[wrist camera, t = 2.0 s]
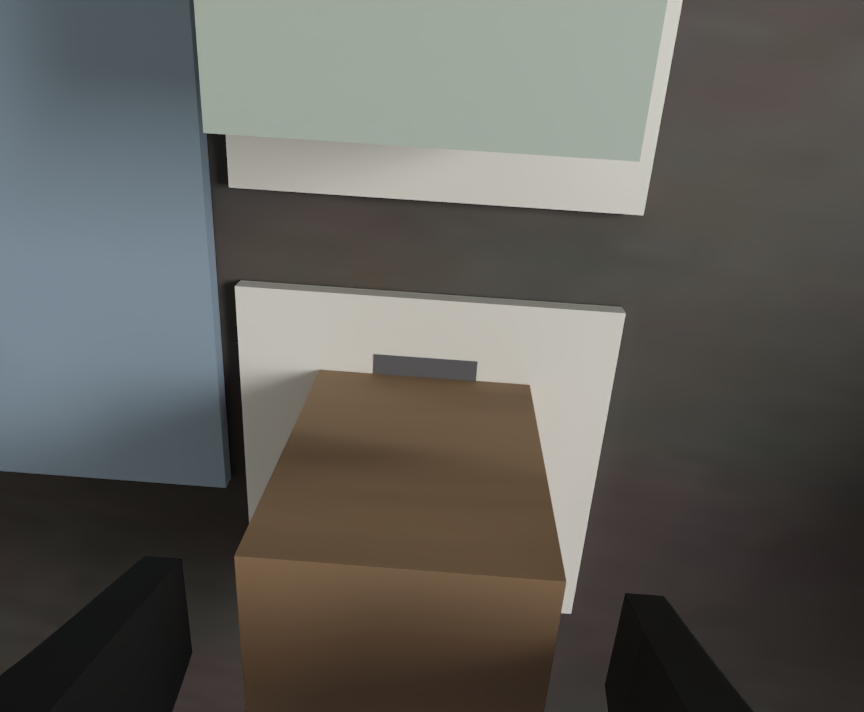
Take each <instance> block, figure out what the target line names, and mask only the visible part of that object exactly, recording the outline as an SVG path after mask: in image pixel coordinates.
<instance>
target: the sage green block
mask: <svg viewBox="0 0 864 712" xmlns="http://www.w3.org/2000/svg"><path fill="white" fill-rule="evenodd" d="M667 1H668V0H194V12H195V26H196V40H197V54H198V67H199V81H200V95H201V108H202V122H203V133H211V134H226V135H241V136H256V137H271V138H287V139H302V140H317V141H332V142H348V143H363V144H378V145H393V146H409V147H424V148H439V149H454V150H470V151H485V152H500V153H515V154H530V155H546V156H561V157H576V158H591V159H607V160H622V161H637V162H640V156H641V150H642V145H643V139H644V133H645V127H646V122H647V116H648V110H649V104H650V99H651V93H652V87H653V81H654V76H655V70H656V64H657V58H658V53H659V47H660V41H661V35H662V30H663V24H664V18H665V12H666V7H667Z"/></svg>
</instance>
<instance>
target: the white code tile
mask: <svg viewBox="0 0 864 712" xmlns="http://www.w3.org/2000/svg"><path fill="white" fill-rule="evenodd" d="M235 300H236V316H237V333H238V349H239V366H240V382H241V399H242V415H243V432H244V448H245V465H246V481H247V498H248V514H249V523H250V521H251V518H252V516H253V514H254V512H255V510H256V508H257V505H258V503H259V501H260V499H261V497H262V495H263V492H264V490H265V488H266V486H267V484H268V482H269V479H270V477H271V475H272V473H273V471H274V469H275V466H276V464H277V462H278V460H279V458H280V455H281V453H282V451H283V449H284V447H285V445H286V442H287V440H288V438H289V436H290V434H291V432H292V429H293V427H294V425H295V423H296V421H297V419H298V416H299V414H300V412H301V410H302V408H303V406H304V403H305V401H306V399H307V397H308V395H309V393H310V390H311V388H312V386H313V384H314V382H315V380H316V377H317V375H318V373H319V371H320V370H330V371H344V372H358V373H371V374H385V375H399V376H413V377H427V378H441V379H455V380H469V381H483V382H496V383H510V384H524V385H530V389H531V395H532V400H533V405H534V411H535V416H536V421H537V427H538V432H539V437H540V443H541V448H542V454H543V459H544V464H545V470H546V475H547V480H548V486H549V491H550V496H551V502H552V507H553V512H554V518H555V523H556V529H557V534H558V539H559V545H560V550H561V555H562V561H563V566H564V571H565V577H566V587H565V593H564V599H563V604H562V610H561V613H566V614H571V612H572V606H573V601H574V595H575V590H576V584H577V579H578V573H579V568H580V562H581V557H582V551H583V546H584V540H585V535H586V529H587V524H588V518H589V513H590V507H591V502H592V496H593V491H594V485H595V480H596V474H597V469H598V463H599V458H600V452H601V447H602V441H603V436H604V430H605V425H606V419H607V414H608V408H609V403H610V397H611V392H612V386H613V381H614V375H615V370H616V364H617V359H618V353H619V348H620V342H621V337H622V331H623V326H624V320H625V315H626V313H625V311H624V310H623V308H622V307H618V306H603V305H589V304H575V303H560V302H546V301H532V300H517V299H503V298H489V297H474V296H460V295H446V294H431V293H417V292H402V291H388V290H374V289H359V288H345V287H331V286H316V285H302V284H288V283H273V282H259V281H245V280H240V281H239V282H238V283H237V284H236V285H235Z"/></svg>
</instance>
